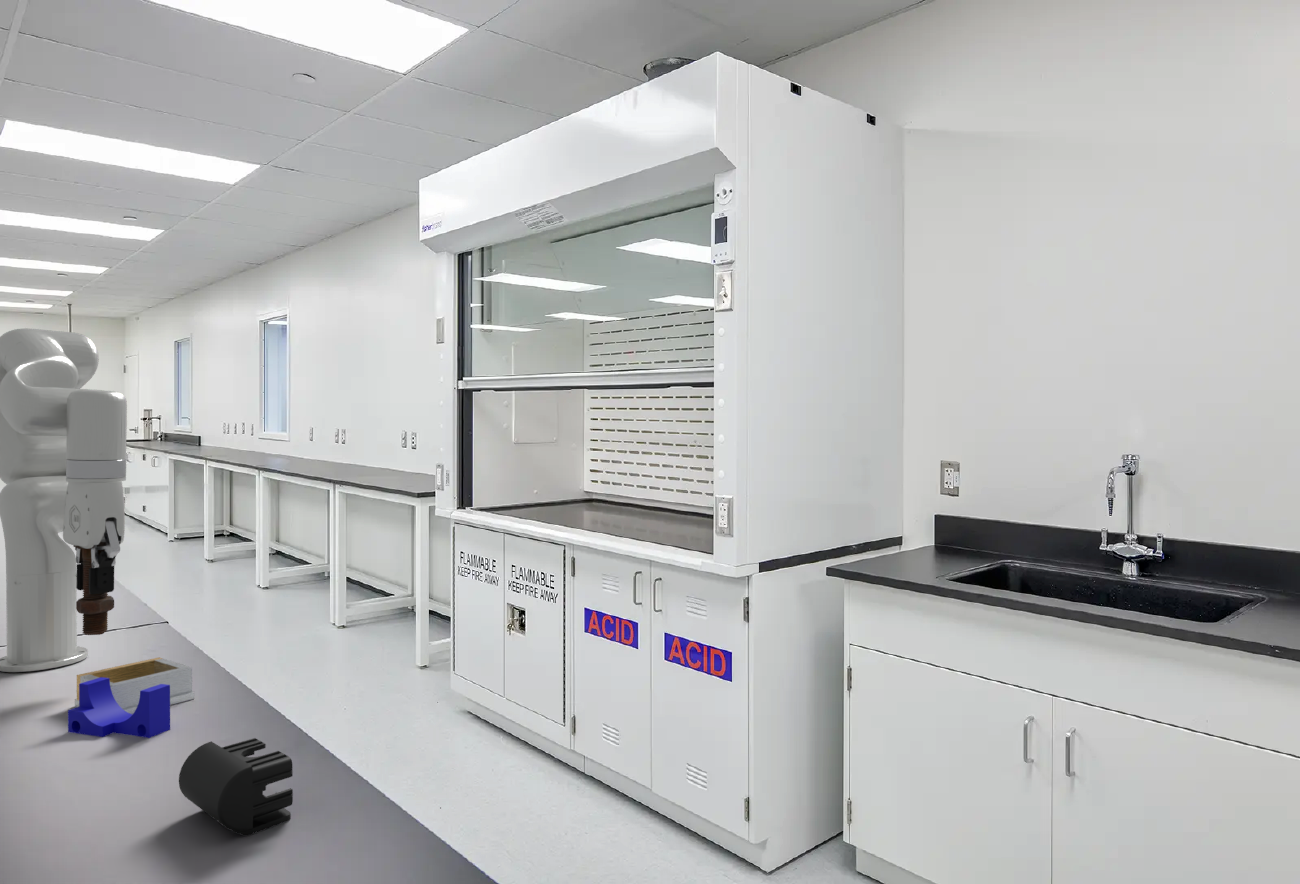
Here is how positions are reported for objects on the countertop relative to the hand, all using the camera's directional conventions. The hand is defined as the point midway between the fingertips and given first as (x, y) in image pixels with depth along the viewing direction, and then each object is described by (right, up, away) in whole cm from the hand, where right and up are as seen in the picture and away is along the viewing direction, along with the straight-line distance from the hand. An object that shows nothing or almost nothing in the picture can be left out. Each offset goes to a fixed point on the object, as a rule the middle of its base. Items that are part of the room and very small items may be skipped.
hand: (95, 589), depth 121 cm
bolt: (0, -7, 0) cm, 7 cm away
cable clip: (+16, -15, -18) cm, 29 cm away
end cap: (+44, -15, -42) cm, 63 cm away
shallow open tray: (+11, -15, -7) cm, 20 cm away
